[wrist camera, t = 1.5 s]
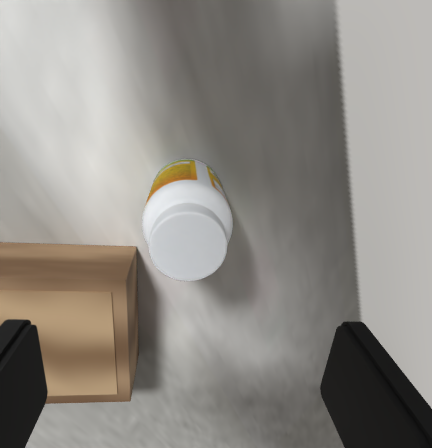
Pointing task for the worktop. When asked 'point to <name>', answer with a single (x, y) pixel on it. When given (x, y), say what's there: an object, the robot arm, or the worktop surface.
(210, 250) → the supplement bottle
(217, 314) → the worktop surface
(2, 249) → the pedestal
